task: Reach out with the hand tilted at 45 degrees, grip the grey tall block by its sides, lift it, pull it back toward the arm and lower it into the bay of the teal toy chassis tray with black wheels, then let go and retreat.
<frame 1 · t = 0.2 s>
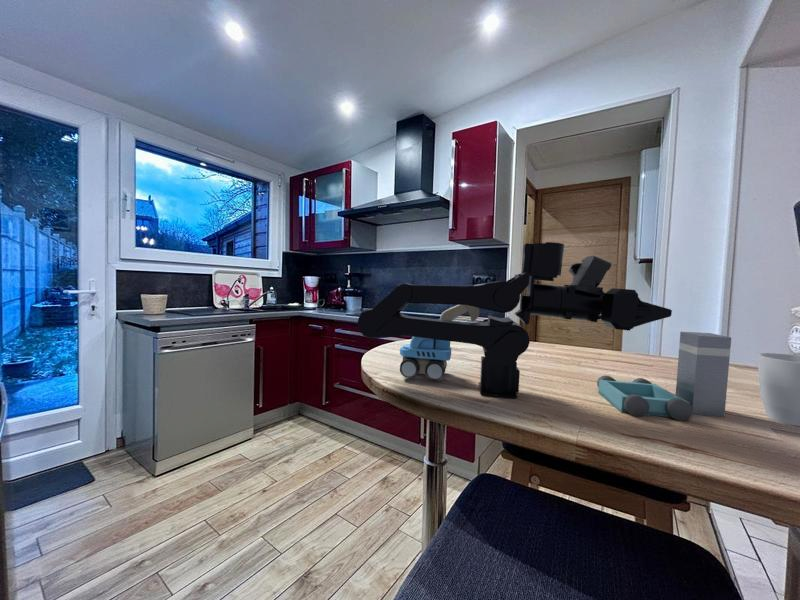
hand: (654, 310, 55), 17 cm above the table, tool horizontal, fingers open, 9 cm apart
grey tall block: (698, 410, 55), on the table
chassis: (638, 404, 56), on the table
toy excavator: (437, 377, 70), on the table, touching arm
cup: (790, 421, 51), on the table
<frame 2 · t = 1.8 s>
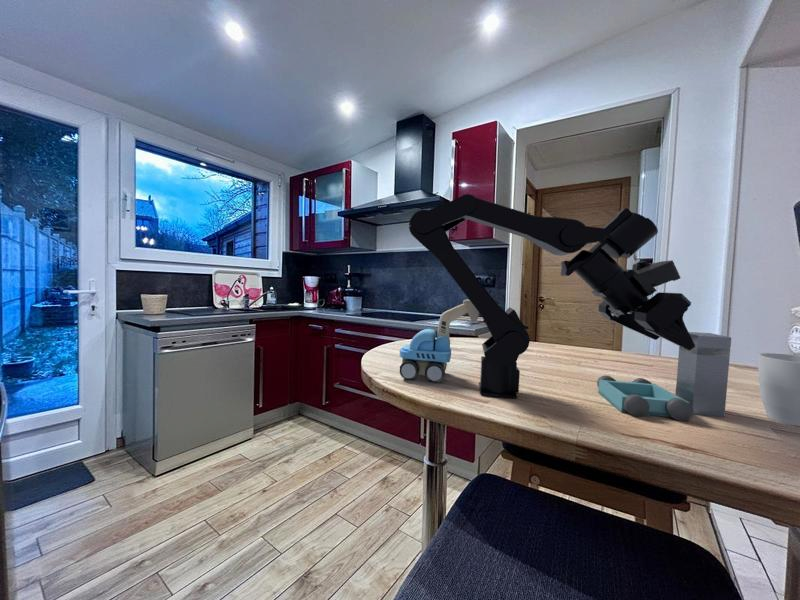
hand: (673, 342, 55), 11 cm above the table, tool tilted 45°, fingers open, 9 cm apart
toy excavator: (436, 378, 70), on the table
everything else where it was.
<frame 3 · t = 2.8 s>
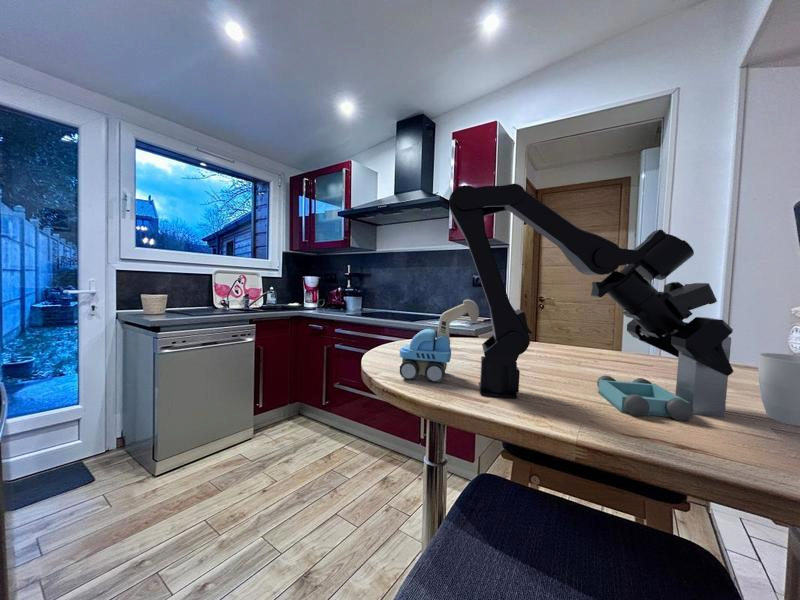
hand: (708, 366, 54), 8 cm above the table, tool tilted 45°, fingers open, 9 cm apart
nothing on the table moved.
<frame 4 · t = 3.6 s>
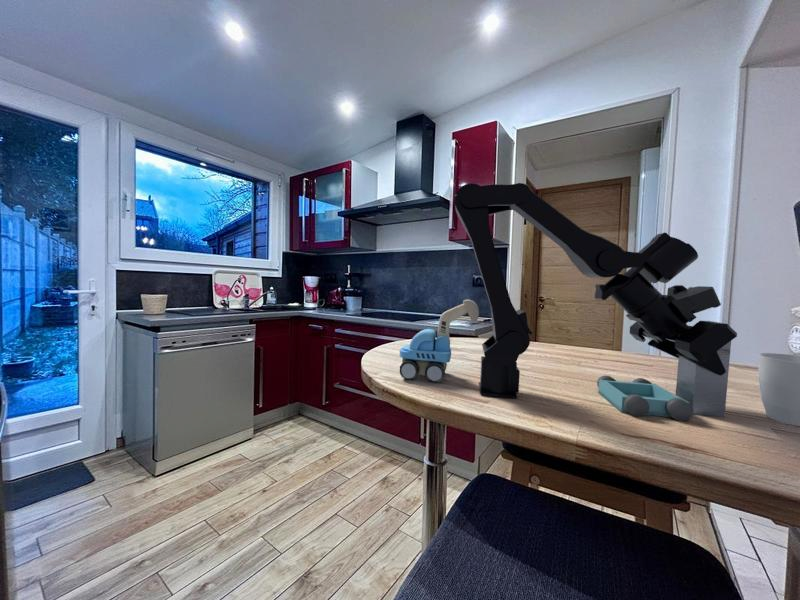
hand: (711, 369, 54), 7 cm above the table, tool tilted 45°, fingers closed on grey tall block, 4 cm apart
grey tall block: (698, 409, 55), on the table, touching gripper
everything else where it was.
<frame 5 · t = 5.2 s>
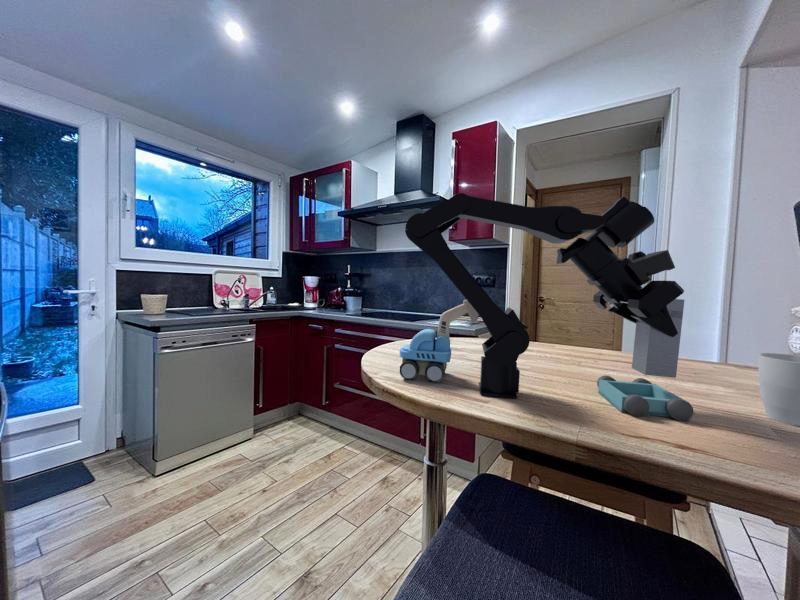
hand: (665, 333, 55), 13 cm above the table, tool tilted 45°, fingers closed on grey tall block, 4 cm apart
grey tall block: (652, 372, 56), point 6 cm above the table, touching gripper
everything else where it was.
when the fingers open (9 cm above the table, at t = 6.5 s): grey tall block drops 1 cm, resting on chassis.
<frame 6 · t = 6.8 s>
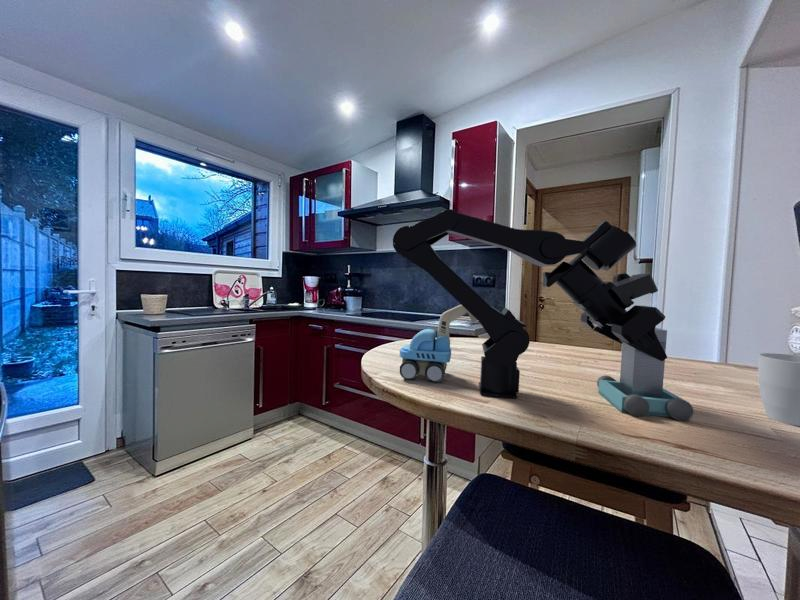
hand: (651, 354, 56), 9 cm above the table, tool tilted 45°, fingers open, 7 cm apart
grey tall block: (639, 401, 56), point 1 cm above the table, touching chassis
everything else where it was.
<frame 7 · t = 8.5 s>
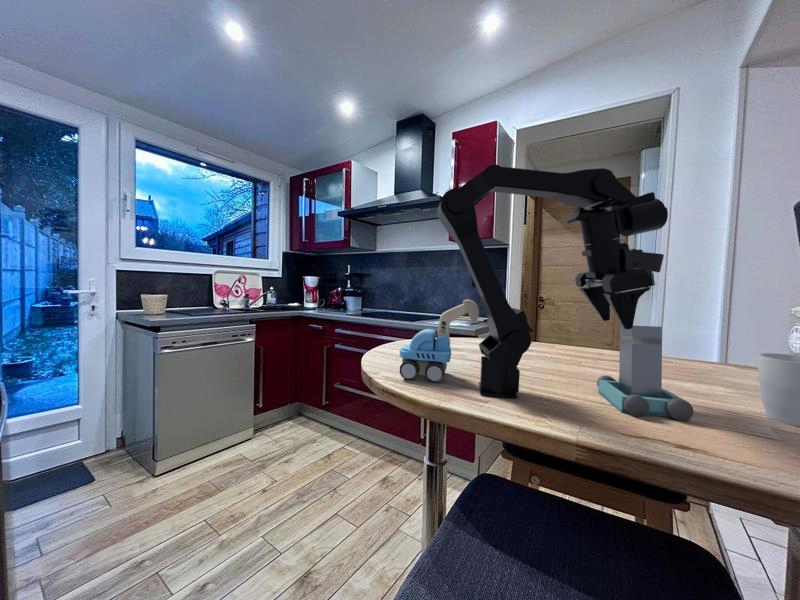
hand: (616, 324, 60), 14 cm above the table, tool pointing down, fingers open, 9 cm apart
grey tall block: (639, 399, 56), point 1 cm above the table, tilted 6°, touching chassis
everything else where it was.
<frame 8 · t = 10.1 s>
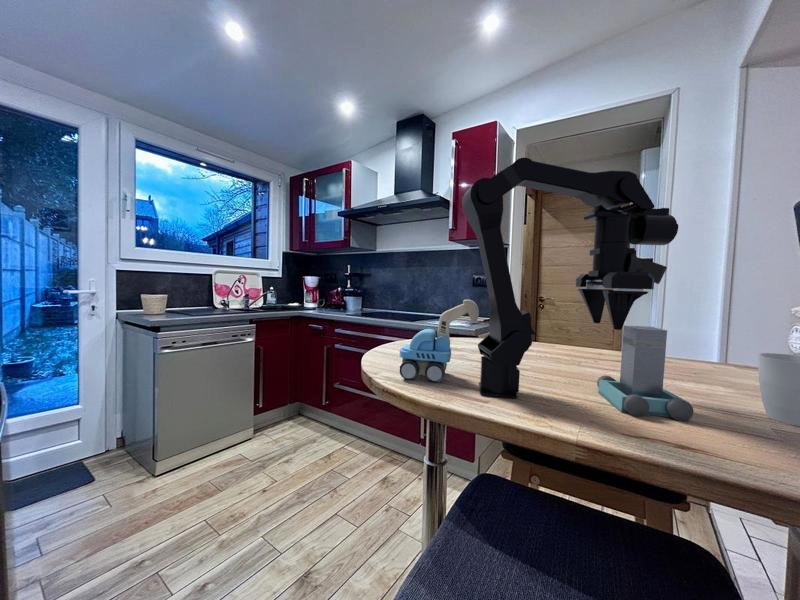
hand: (606, 326, 61), 13 cm above the table, tool pointing down, fingers open, 9 cm apart
grey tall block: (639, 401, 56), point 1 cm above the table, touching chassis
everything else where it was.
at the end: grey tall block 0.0 cm off-centre on the chassis, point 0.6 cm above the chassis's base; grey tall block tilted 0°; the gripper is holding nothing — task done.
